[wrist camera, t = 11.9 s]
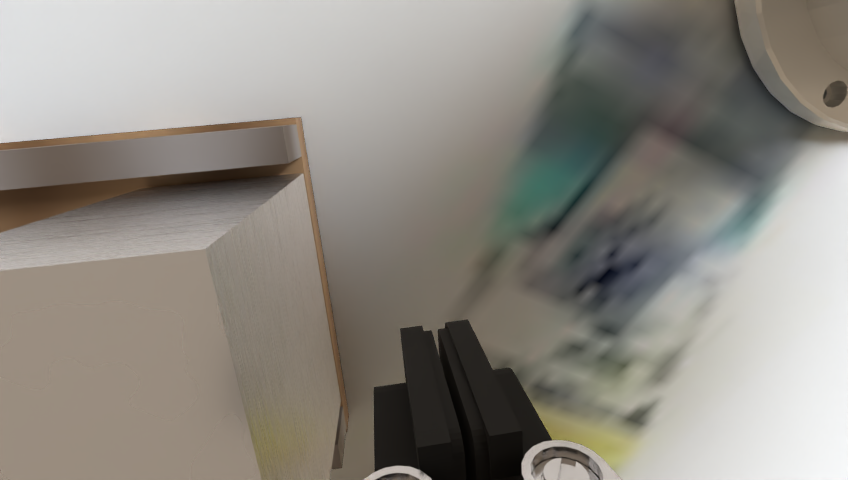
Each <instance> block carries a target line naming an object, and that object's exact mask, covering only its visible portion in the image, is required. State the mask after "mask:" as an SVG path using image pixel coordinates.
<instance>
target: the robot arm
mask: <svg viewBox="0 0 848 480" xmlns="http://www.w3.org/2000/svg"><path fill="white" fill-rule="evenodd" d="M734 2H735V7H736V13H737V18H738V24H739V29H740V35H741V39H742V41H743V44H744V46H745V49H746V51H747V54H748V56H749V59H750V62H751V64H752V67H753V69H754V70H755V72H756V73H757V75H758V76H759V78H760V79H761V80H762V82H763V83H764V85H765V86H766V88H767V89H768V91H769V92H770V94H772V95H773V96H774V97H775V98H776V99H777V100H778V101H779V102H780V103H781V104H783V105H784V106H785V107H786V108H787V109H788V110H789V111H790V112H792V113H794V114H795V115H797V116H799V117H801V118H803V119H805V120H807V121H809V122H811V123H812V124H814V125H817V126H822V127H826V128H830V129H834V130H838V131H843V132H848V0H734ZM400 333H401V342H402V351H403V360H404V369H405V378H406V383H400V384H393V385H387V386H380V387H374V453H375V472H374V473H372V474H370V475H369V476H368V477H366V478H365V479H364V480H622V479H621V478H620V477H619V476H618V475H617V474H616V473H615V471H614V470H613V469H612V468H611V467H610V466H609V465H608V464H607V463H606V462H605V460H604V459H602V458H601V457H600V456H599V455H598V454H597V453H595V452H594V451H593V450H591V449H589V448H587V447H585V446H583V445H581V444H577V443H574V442H571V441H563V440H552V439H551V437H550V435H549V434H548V432H547V430H546V428H545V427H544V425H543V423H542V421H541V420H540V418H539V416H538V414H537V412H536V411H535V409H534V407H533V405H532V404H531V402H530V400H529V398H528V397H527V395H526V393H525V391H524V390H523V388H522V386H521V384H520V383H519V381H518V379H517V377H516V376H515V374H514V372H513V371H512V369H511V368H503V369H496V370H492V368H491V366H490V364H489V362H488V360H487V357H486V355H485V353H484V351H483V349H482V347H481V345H480V343H479V341H478V339H477V337H476V335H475V333H474V331H473V329H472V327H471V325H470V323H469V321H468V320H461V321H453V322H446V323H445V329H438V342H439V354H440V358H439V355H438V351H437V348H436V344H435V341H434V337H433V334H432V331H431V330H430V331H423V327H422V326H416V327H409V328H401V329H400Z"/></svg>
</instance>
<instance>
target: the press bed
mask: <svg viewBox="0 0 848 480" xmlns="http://www.w3.org/2000/svg"><path fill="white" fill-rule="evenodd" d="M298 173H303V174H304V180H305V186H306V193H307V199H308V205H309V211H310V217H311V223H312V229H313V235H314V241H315V247H316V253H317V259H318V265H319V271H320V277H321V283H322V289H323V295H324V301H325V307H326V313H327V319H328V325H329V331H330V338H331V344H332V350H333V356H334V362H335V368H336V374H337V380H338V386H339V392H340V398H341V403H340V411H339V418H338V425H337V432H336V439H335V447H334V454H333V461H332V468H331V469H337V468H342V463H343V454H344V445H345V436H346V432H347V428H348V418H349V413H348V407H347V400H346V394H345V388H344V382H343V375H342V369H341V363H340V357H339V351H338V344H337V338H336V332H335V326H334V320H333V313H332V307H331V301H330V295H329V289H328V282H327V276H326V270H325V264H324V257H323V251H322V245H321V239H320V233H319V226H318V220H317V214H316V208H315V202H314V195H313V189H312V183H311V177H310V170H309V164H308V158H307V152H306V146H305V139H304V133H303V127H302V121H301V117H300V118H287V119H275V120H264V121H252V122H241V123H229V124H218V125H206V126H195V127H183V128H172V129H160V130H149V131H137V132H126V133H114V134H102V135H91V136H79V137H68V138H56V139H45V140H33V141H22V142H10V143H0V233H1V232H4V231H8V230H11V229H14V228H17V227H20V226H23V225H27V224H30V223H33V222H36V221H39V220H43V219H46V218H49V217H52V216H55V215H58V214H62V213H65V212H68V211H71V210H74V209H77V208H81V207H84V206H87V205H90V204H93V203H96V202H100V201H103V200H106V199H109V198H112V197H116V196H119V195H122V194H125V193H128V192H131V191H135V190H138V189H141V188H152V187H162V186H173V185H183V184H194V183H204V182H214V181H225V180H235V179H246V178H256V177H267V176H277V175H288V174H298Z"/></svg>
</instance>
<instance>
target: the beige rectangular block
mask: <svg viewBox="0 0 848 480" xmlns="http://www.w3.org/2000/svg"><path fill="white" fill-rule="evenodd" d="M340 403H341V398H340V392H339V386H338V380H337V374H336V368H335V362H334V356H333V350H332V344H331V338H330V331H329V325H328V319H327V313H326V307H325V301H324V295H323V289H322V283H321V277H320V271H319V265H318V259H317V253H316V247H315V241H314V235H313V229H312V223H311V217H310V211H309V205H308V199H307V193H306V186H305V180H304V174H303V173H298V174H288V175H277V176H267V177H256V178H246V179H235V180H225V181H214V182H204V183H194V184H183V185H173V186H162V187H152V188H141V189H138V190H135V191H131V192H128V193H125V194H122V195H119V196H116V197H112V198H109V199H106V200H103V201H100V202H96V203H93V204H90V205H87V206H84V207H81V208H77V209H74V210H71V211H68V212H65V213H62V214H58V215H55V216H52V217H49V218H46V219H43V220H39V221H36V222H33V223H30V224H27V225H23V226H20V227H17V228H14V229H11V230H8V231H4V232H1V233H0V480H330V475H331V468H332V461H333V454H334V447H335V439H336V432H337V425H338V418H339V411H340Z"/></svg>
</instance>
